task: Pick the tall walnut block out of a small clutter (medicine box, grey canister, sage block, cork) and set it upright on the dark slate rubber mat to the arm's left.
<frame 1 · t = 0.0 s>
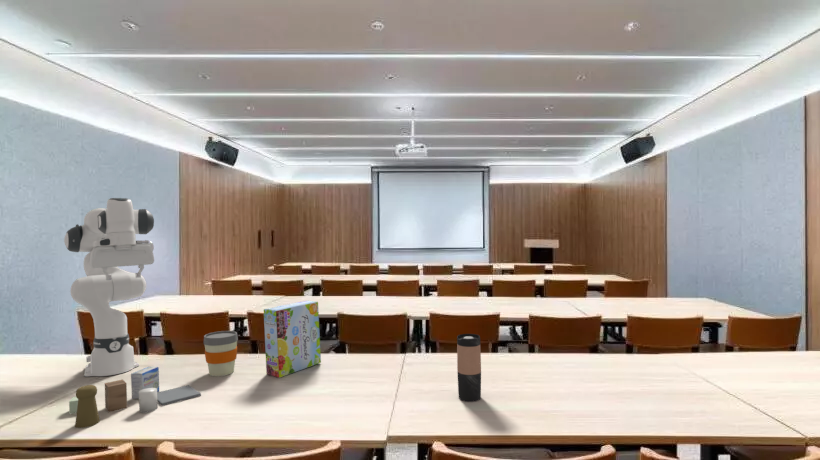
hand: (123, 278, 171), 39 cm above the table, tool pointing down, fingers open, 8 cm apart
grey canister: (148, 409, 148), on the table
walnut block: (116, 408, 149), on the table
reusable coffee cup: (221, 373, 184), on the table
sage green block: (82, 410, 148), on the table
travel mug: (469, 398, 152), on the table
snack box: (294, 369, 186), on the table
slate mat: (176, 395, 159), on the table
medicine box: (145, 395, 161), on the table
cork: (87, 424, 138), on the table
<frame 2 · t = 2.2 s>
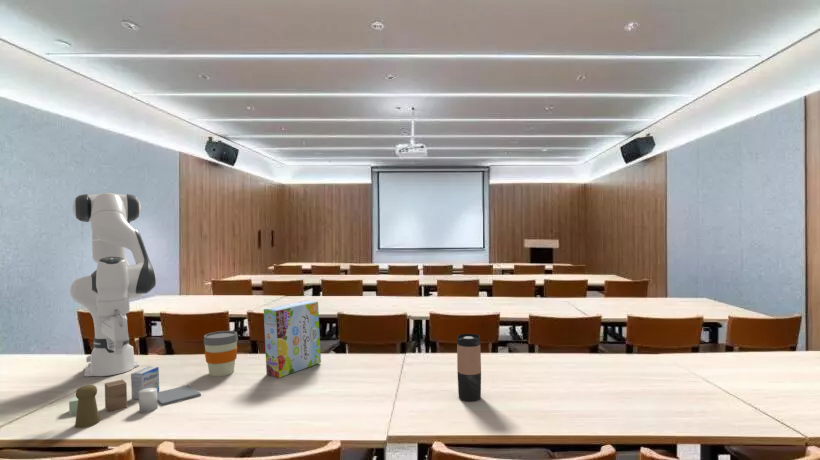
hand: (114, 351, 149), 18 cm above the table, tool pointing down, fingers open, 8 cm apart
nothing on the table moved.
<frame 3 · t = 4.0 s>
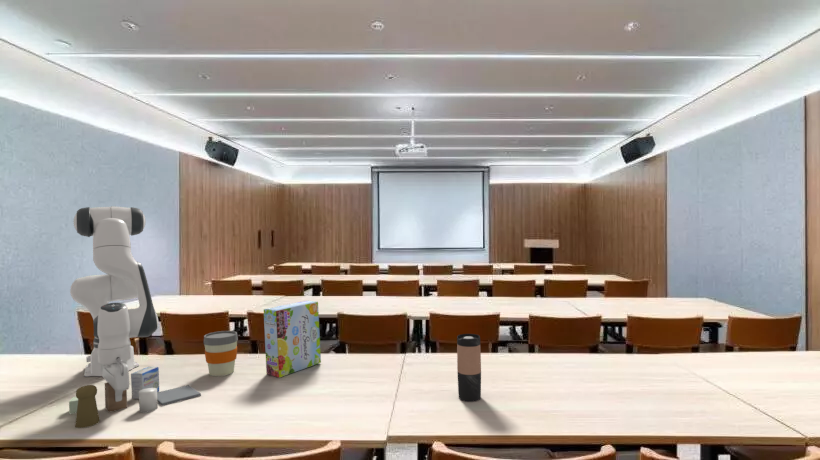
hand: (115, 398, 149), 3 cm above the table, tool pointing down, fingers closed on walnut block, 5 cm apart
walnut block: (116, 407, 149), on the table, touching gripper
everything else where it was.
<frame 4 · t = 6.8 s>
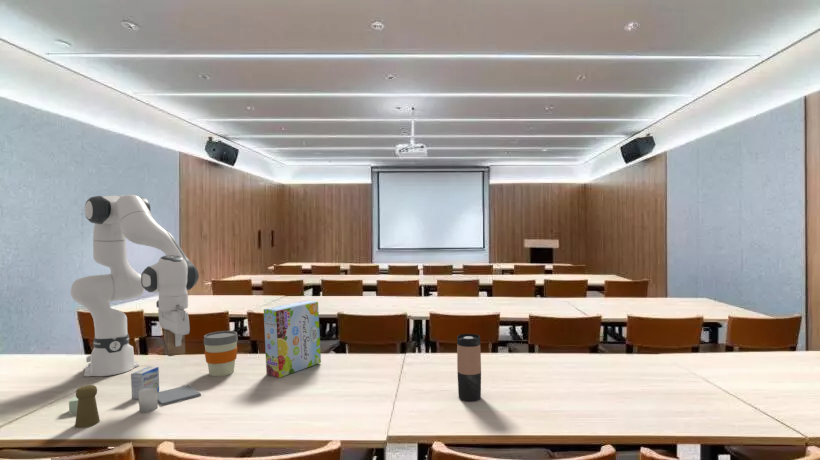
hand: (174, 344, 159), 18 cm above the table, tool pointing down, fingers closed on walnut block, 5 cm apart
walnut block: (174, 353, 159), point 14 cm above the table, touching gripper
everything else where it was.
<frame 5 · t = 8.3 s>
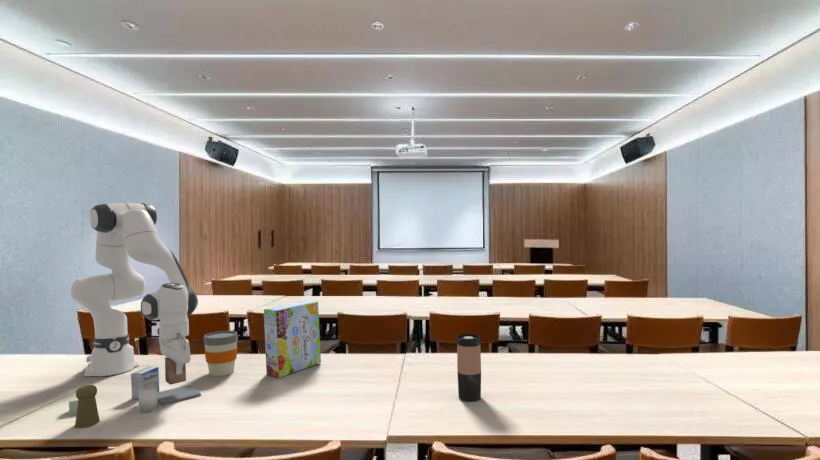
hand: (175, 371, 159), 8 cm above the table, tool pointing down, fingers closed on walnut block, 5 cm apart
walnut block: (175, 381, 159), point 5 cm above the table, touching gripper
everything else where it was.
when the fingers open (5 cm above the table, at t = 9.4 s): walnut block drops 1 cm, resting on slate mat.
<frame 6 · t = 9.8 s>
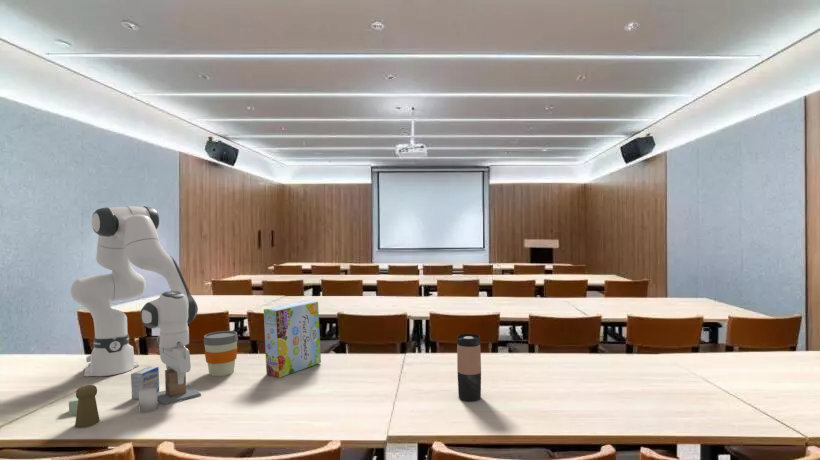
hand: (175, 380, 159), 5 cm above the table, tool pointing down, fingers open, 8 cm apart
walnut block: (175, 393, 159), point 1 cm above the table, touching slate mat
everything else where it was.
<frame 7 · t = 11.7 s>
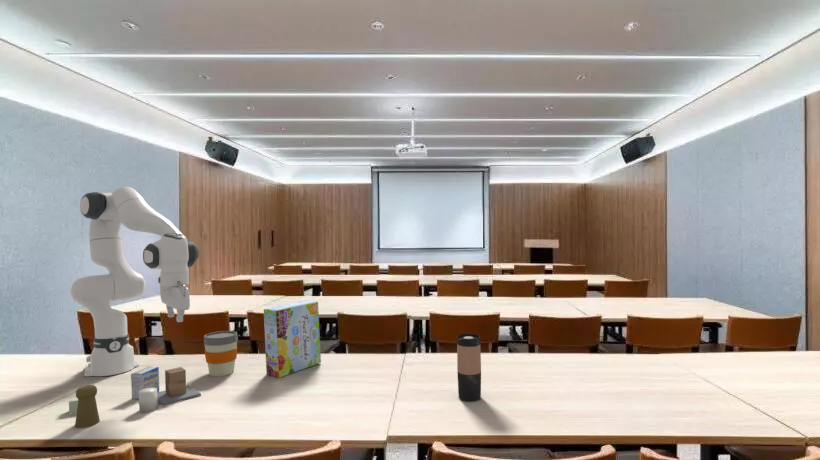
hand: (175, 319, 164), 25 cm above the table, tool pointing down, fingers open, 8 cm apart
nothing on the table moved.
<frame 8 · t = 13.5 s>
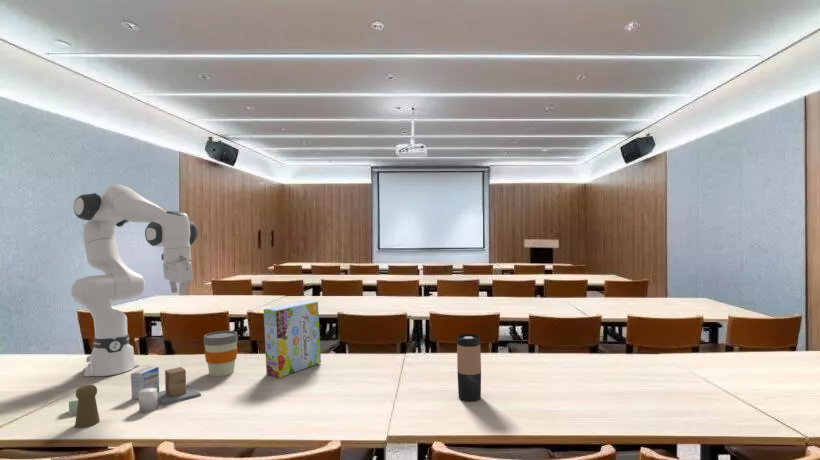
hand: (178, 293, 170), 33 cm above the table, tool pointing down, fingers open, 8 cm apart
nothing on the table moved.
at the end: walnut block inside the target area on the slate mat (0.1 cm from its centre), point 0.8 cm above the slate mat's base; walnut block tilted 0°; the gripper is holding nothing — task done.
